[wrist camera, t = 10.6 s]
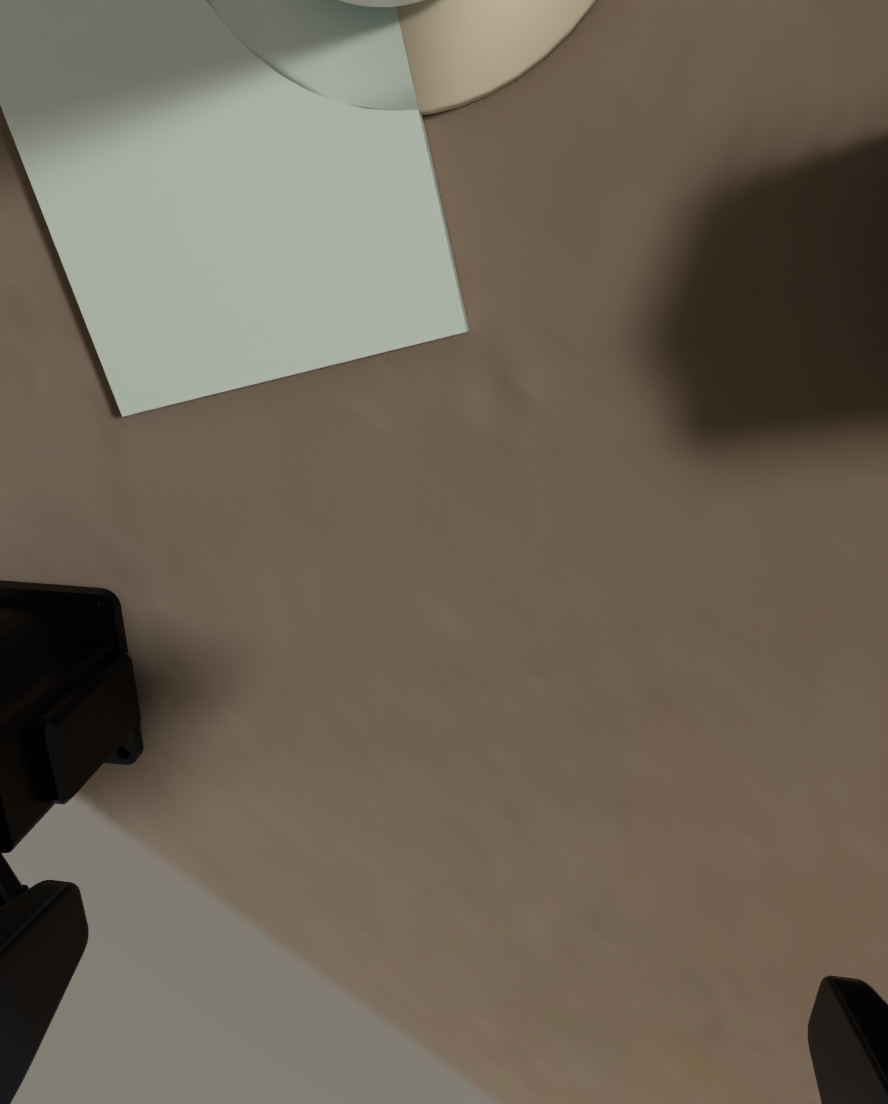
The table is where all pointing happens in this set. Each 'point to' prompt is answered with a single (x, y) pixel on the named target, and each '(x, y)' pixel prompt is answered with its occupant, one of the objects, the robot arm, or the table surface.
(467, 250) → the table surface
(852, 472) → the table surface
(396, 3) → the can
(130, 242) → the square grey-green coaster
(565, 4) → the round birch coaster
